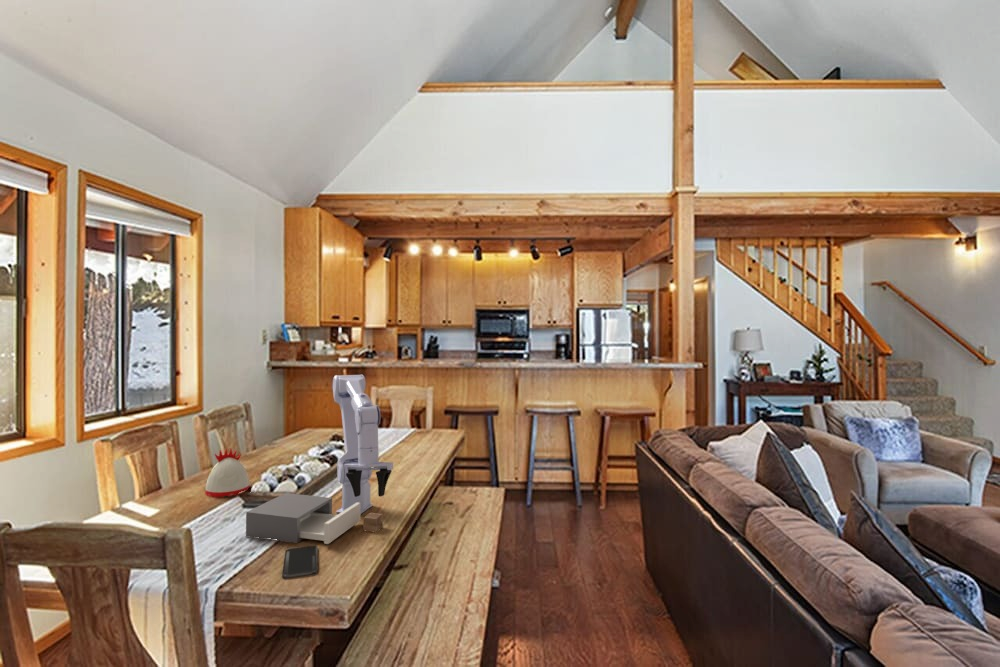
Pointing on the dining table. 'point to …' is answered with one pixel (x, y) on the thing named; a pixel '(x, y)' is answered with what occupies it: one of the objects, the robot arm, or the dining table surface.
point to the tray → (329, 524)
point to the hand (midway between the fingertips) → (369, 496)
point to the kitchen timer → (227, 476)
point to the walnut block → (373, 522)
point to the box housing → (284, 516)
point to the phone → (300, 562)
